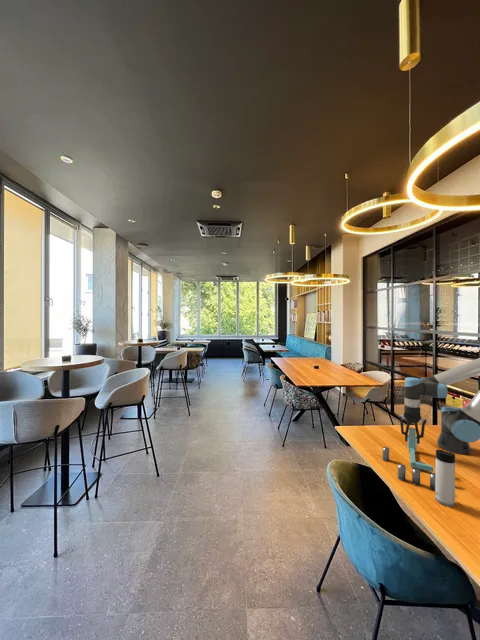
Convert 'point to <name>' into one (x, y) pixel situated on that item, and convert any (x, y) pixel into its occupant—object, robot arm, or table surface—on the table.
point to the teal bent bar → (412, 452)
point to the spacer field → (414, 472)
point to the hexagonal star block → (420, 462)
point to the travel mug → (445, 478)
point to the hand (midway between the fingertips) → (412, 448)
